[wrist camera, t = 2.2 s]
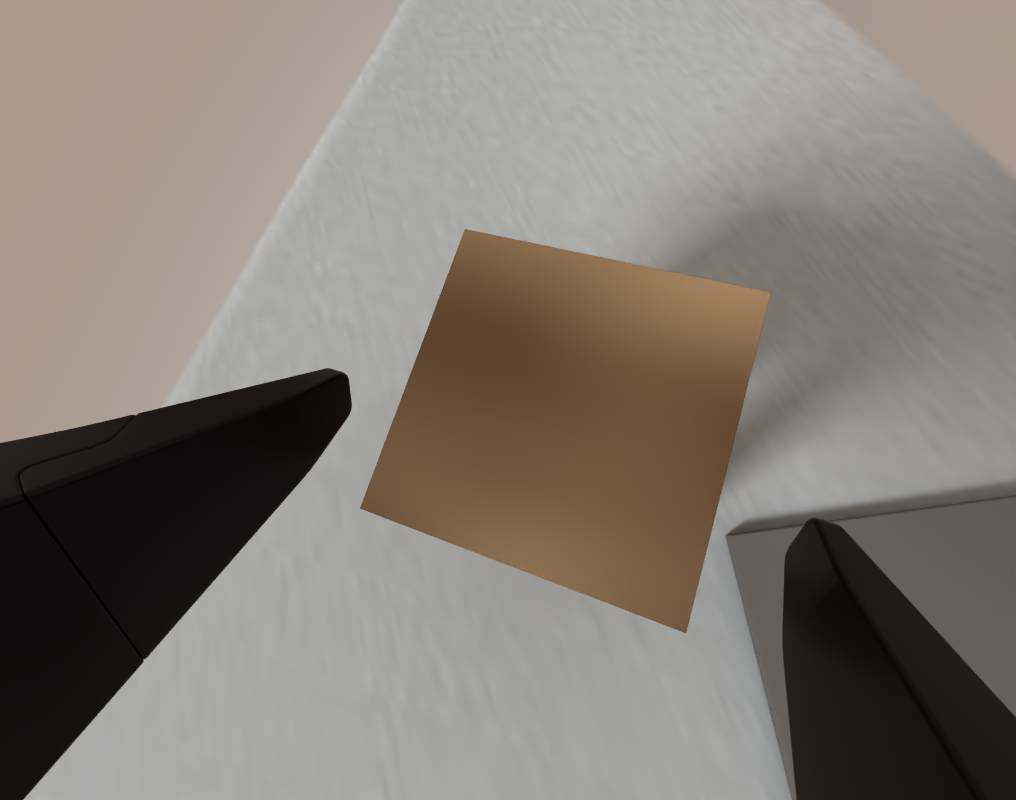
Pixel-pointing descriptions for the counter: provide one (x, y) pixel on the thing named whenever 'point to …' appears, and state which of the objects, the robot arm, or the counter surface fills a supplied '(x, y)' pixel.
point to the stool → (573, 419)
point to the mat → (902, 588)
